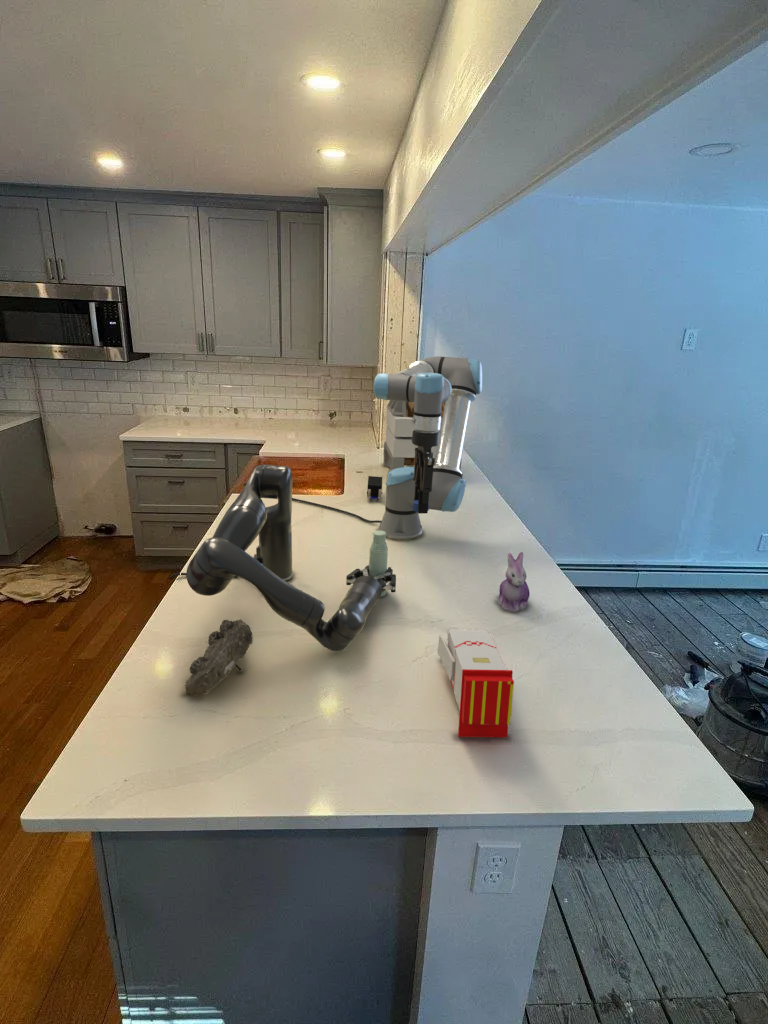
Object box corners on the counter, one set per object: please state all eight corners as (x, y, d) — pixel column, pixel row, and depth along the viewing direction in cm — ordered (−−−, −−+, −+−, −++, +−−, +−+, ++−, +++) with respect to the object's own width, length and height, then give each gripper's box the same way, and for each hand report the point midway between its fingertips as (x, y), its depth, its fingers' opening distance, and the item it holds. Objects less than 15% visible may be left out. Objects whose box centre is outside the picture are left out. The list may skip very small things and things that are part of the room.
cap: (412, 511, 163) (412, 504, 162) (412, 506, 167) (413, 499, 166) (428, 512, 162) (429, 505, 162) (428, 507, 167) (429, 500, 166)
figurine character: (382, 506, 231) (382, 491, 244) (383, 489, 227) (382, 474, 241) (366, 505, 230) (366, 490, 244) (366, 488, 227) (367, 474, 240)
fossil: (205, 622, 132) (252, 592, 127) (234, 650, 134) (280, 621, 129) (164, 690, 112) (217, 657, 107) (198, 721, 115) (251, 691, 110)
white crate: (382, 463, 289) (386, 382, 275) (445, 464, 293) (451, 384, 279) (390, 482, 257) (394, 392, 243) (460, 483, 261) (468, 394, 247)
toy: (488, 613, 130) (523, 677, 101) (484, 667, 133) (517, 744, 104) (435, 612, 130) (455, 676, 101) (432, 666, 133) (451, 743, 103)
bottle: (367, 588, 160) (370, 529, 154) (385, 588, 160) (388, 529, 154) (368, 596, 156) (370, 535, 149) (386, 597, 156) (389, 536, 150)
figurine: (511, 616, 149) (518, 564, 143) (487, 598, 157) (493, 549, 152) (539, 609, 153) (547, 558, 148) (514, 592, 161) (521, 544, 156)
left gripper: (335, 604, 146) (355, 576, 161) (389, 614, 142) (404, 584, 158) (336, 578, 143) (356, 552, 159) (390, 587, 140) (406, 560, 155)
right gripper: (406, 424, 164) (401, 500, 172) (420, 437, 148) (414, 520, 156) (431, 424, 166) (425, 500, 173) (447, 437, 149) (440, 520, 157)
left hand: (380, 568), depth 158 cm, fingers closed on bottle, 5 cm apart
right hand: (420, 509), depth 165 cm, fingers closed on cap, 4 cm apart
